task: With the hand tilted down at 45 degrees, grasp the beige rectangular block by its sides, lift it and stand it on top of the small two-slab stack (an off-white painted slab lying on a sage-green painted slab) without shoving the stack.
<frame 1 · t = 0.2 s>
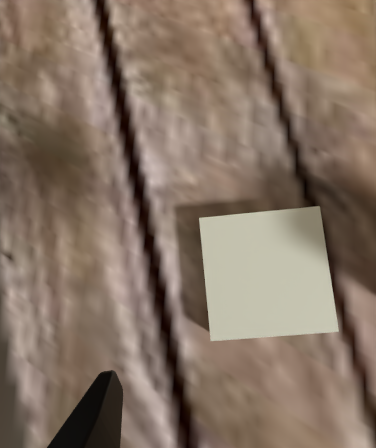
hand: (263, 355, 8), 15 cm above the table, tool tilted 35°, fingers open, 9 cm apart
top slab: (262, 271, 22), point 1 cm above the table, touching bottom slab
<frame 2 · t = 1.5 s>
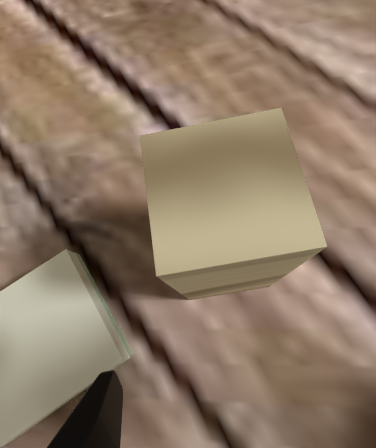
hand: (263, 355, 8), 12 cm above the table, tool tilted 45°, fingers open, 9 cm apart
top slab: (48, 337, 21), point 1 cm above the table, touching bottom slab
bottom slab: (59, 335, 22), on the table, touching top slab
beige rectangular block: (221, 254, 22), on the table
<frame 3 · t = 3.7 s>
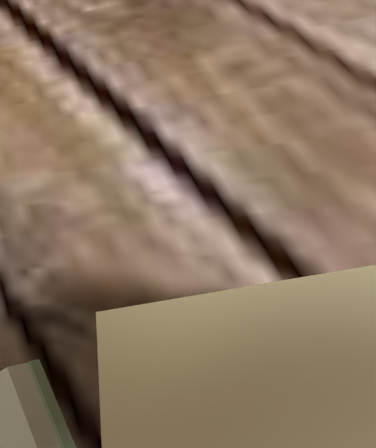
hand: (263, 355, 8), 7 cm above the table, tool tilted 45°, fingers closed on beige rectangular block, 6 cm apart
beige rectangular block: (249, 368, 15), on the table, touching gripper
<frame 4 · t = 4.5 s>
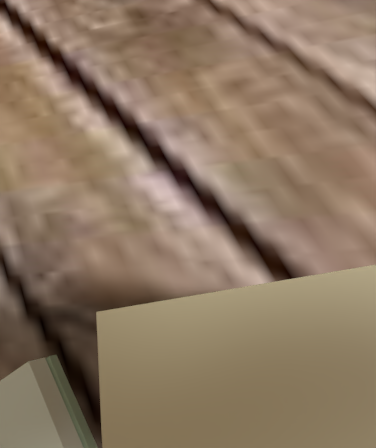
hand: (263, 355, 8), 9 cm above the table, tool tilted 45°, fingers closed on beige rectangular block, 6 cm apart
beige rectangular block: (249, 368, 15), point 2 cm above the table, touching gripper
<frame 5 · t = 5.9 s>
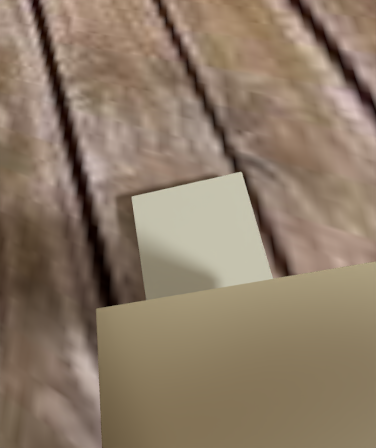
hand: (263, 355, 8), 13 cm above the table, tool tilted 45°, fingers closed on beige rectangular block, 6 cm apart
top slab: (198, 242, 23), point 1 cm above the table, touching bottom slab
beige rectangular block: (249, 367, 15), point 6 cm above the table, touching gripper
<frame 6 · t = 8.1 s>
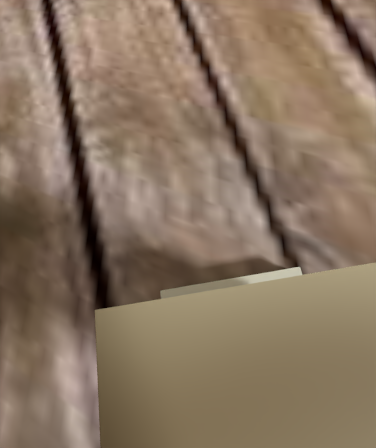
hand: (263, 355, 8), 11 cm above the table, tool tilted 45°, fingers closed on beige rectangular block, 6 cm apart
top slab: (242, 352, 18), point 1 cm above the table, touching bottom slab
beige rectangular block: (249, 367, 15), point 4 cm above the table, touching gripper
when the fingers open (11 cm above the table, at t = 8.8 s): beige rectangular block drops 1 cm, point 3 cm above the table.
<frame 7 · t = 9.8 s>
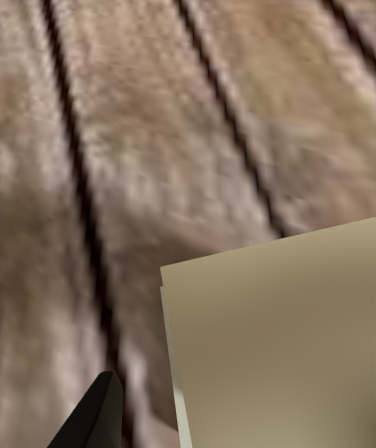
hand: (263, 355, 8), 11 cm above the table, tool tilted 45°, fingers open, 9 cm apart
top slab: (243, 348, 18), point 1 cm above the table, touching bottom slab
beige rectangular block: (257, 349, 16), point 3 cm above the table
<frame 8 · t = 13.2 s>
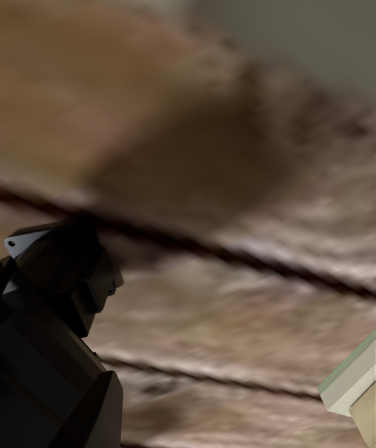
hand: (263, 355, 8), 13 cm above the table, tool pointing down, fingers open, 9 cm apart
bottom slab: (374, 365, 30), on the table
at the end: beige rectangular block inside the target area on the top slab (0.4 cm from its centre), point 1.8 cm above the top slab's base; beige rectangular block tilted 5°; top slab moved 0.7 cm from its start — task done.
